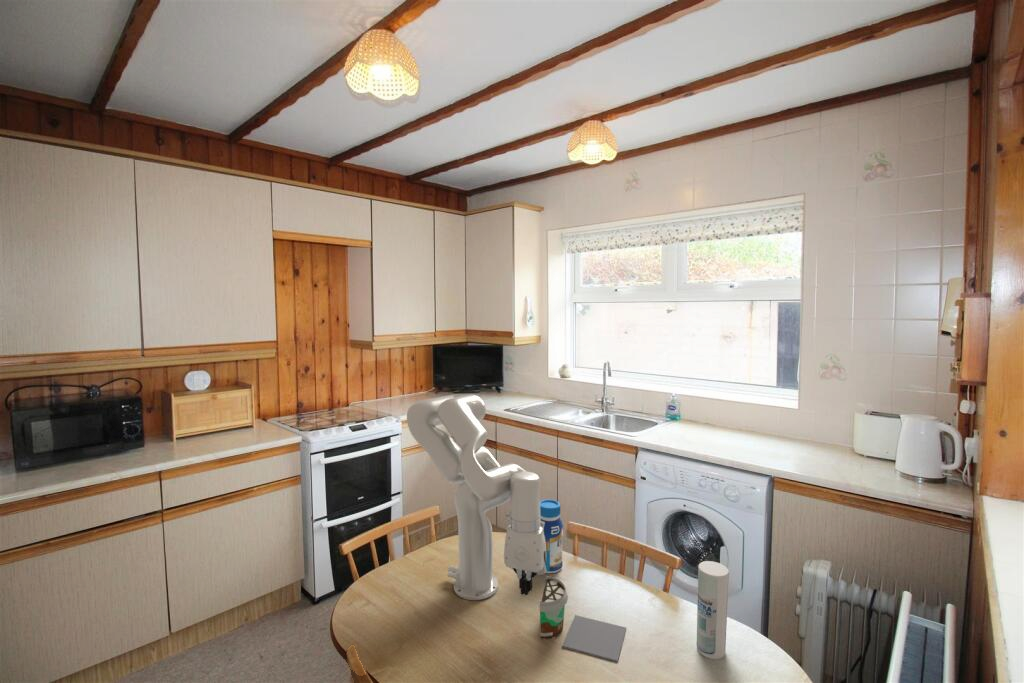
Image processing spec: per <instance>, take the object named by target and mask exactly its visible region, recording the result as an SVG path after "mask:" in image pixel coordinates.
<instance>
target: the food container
mask: <svg viewBox="0 0 1024 683" xmlns="http://www.w3.org/2000/svg"><path fill="white" fill-rule="evenodd" d="M544 585H545V586H544V589H543V593H542V599H541V601H539V622H540V624H539V625H540V626H539V627H540V629H539V630H540V631H539V632H540V634H539V635H540V639H541V640H550V639H554V638H556V637H559V635H561V633H562V632H563V630H564V620H565V607H566V606H565V605H567V603H568V600H569V595H568V591H567V588H566V586H565V583H564V582H562V581H561V580H560V579H558V578H556V577H553V576H549V575H546V576H545V584H544Z"/></svg>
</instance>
